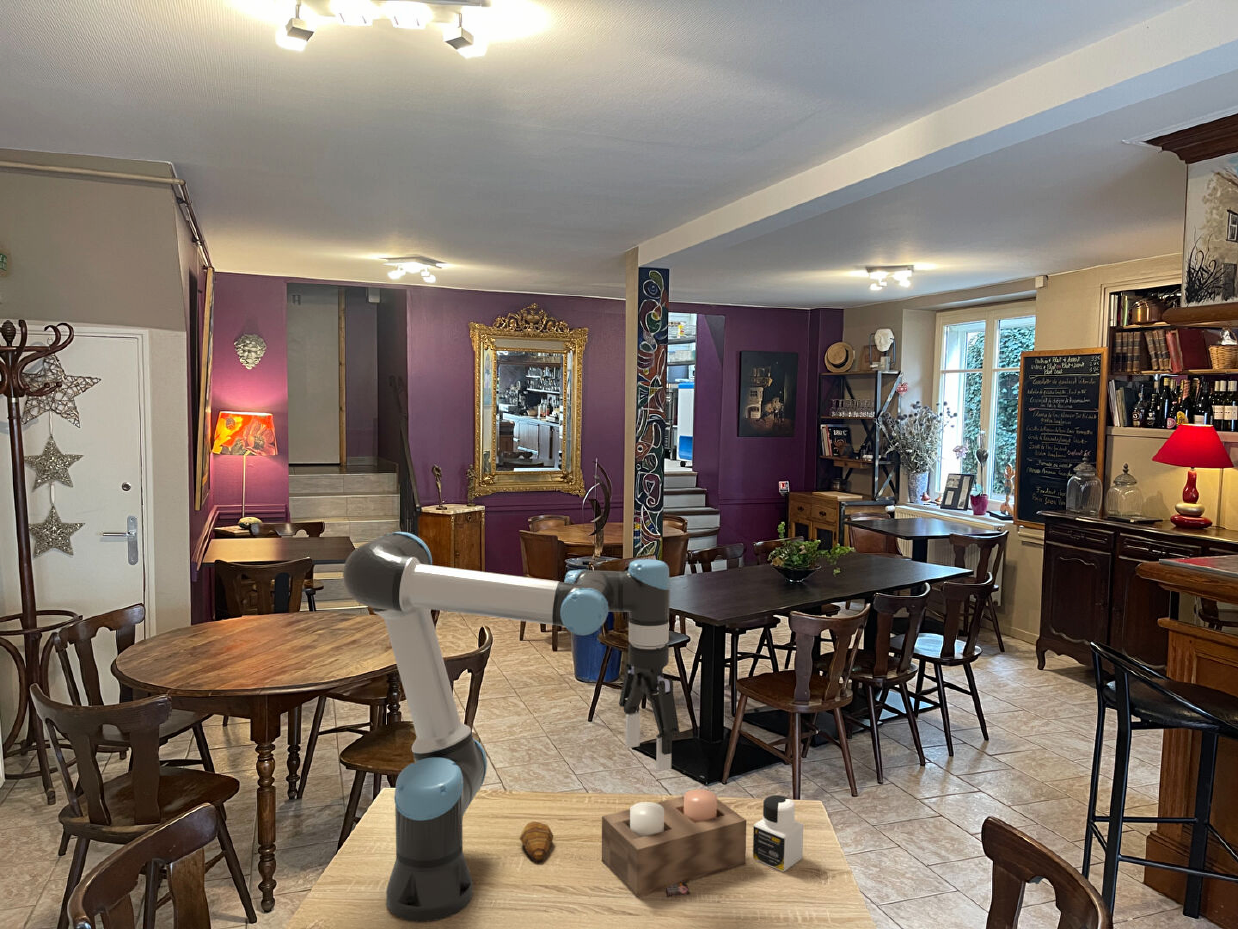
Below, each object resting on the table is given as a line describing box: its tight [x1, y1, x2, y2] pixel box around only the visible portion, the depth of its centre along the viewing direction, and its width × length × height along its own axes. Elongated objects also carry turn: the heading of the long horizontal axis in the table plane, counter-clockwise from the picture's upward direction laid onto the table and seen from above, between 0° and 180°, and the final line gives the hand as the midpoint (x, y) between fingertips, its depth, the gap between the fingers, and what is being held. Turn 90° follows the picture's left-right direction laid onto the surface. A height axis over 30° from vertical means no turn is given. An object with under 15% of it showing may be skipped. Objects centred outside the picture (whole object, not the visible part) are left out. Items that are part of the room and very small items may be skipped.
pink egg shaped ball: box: [683, 788, 718, 823], centre depth 172 cm, size 6×6×8 cm
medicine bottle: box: [752, 794, 804, 873], centre depth 171 cm, size 7×7×12 cm
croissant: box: [519, 821, 554, 863], centre depth 175 cm, size 14×7×5 cm, turn 10°
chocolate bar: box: [664, 882, 692, 898], centre depth 163 cm, size 11×5×1 cm, turn 9°
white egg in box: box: [629, 801, 664, 837], centre depth 166 cm, size 6×6×8 cm
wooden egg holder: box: [601, 795, 747, 898], centre depth 169 cm, size 24×14×9 cm, turn 118°
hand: (647, 757), depth 165 cm, fingers open, 11 cm apart
